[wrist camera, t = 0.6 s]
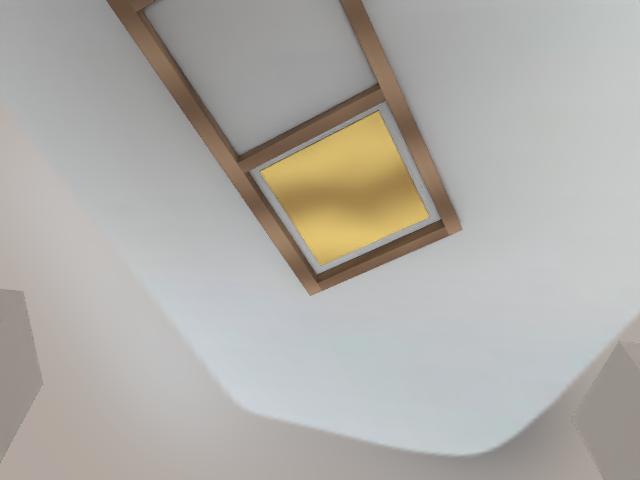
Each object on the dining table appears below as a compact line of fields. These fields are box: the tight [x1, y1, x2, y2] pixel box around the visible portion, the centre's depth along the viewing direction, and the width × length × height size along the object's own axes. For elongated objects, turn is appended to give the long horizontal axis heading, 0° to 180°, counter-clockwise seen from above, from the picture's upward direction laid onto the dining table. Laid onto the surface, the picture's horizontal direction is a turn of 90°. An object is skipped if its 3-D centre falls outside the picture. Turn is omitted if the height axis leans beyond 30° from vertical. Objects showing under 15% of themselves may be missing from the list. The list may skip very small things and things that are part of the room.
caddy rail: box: [106, 0, 463, 296], centre depth 29 cm, size 33×12×1 cm, turn 28°
